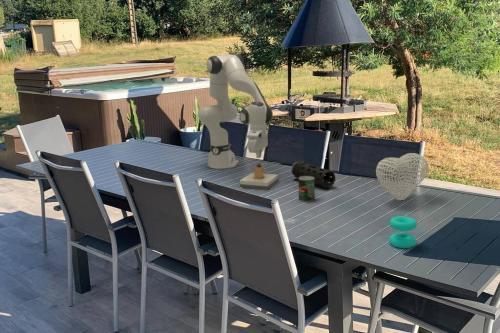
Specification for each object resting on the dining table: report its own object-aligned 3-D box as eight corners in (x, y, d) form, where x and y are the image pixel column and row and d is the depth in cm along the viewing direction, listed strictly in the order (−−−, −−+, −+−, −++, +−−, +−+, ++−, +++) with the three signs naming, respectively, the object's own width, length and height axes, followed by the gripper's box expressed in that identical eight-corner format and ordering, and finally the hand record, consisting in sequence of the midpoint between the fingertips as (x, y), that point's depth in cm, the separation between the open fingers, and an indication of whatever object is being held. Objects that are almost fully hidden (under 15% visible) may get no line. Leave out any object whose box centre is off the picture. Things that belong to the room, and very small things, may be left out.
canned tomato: (317, 198, 260) (317, 176, 258) (310, 202, 254) (310, 180, 251) (302, 196, 264) (302, 175, 262) (295, 200, 258) (295, 178, 255)
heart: (392, 210, 239) (394, 163, 233) (368, 202, 252) (369, 157, 246) (433, 199, 253) (436, 154, 248) (408, 191, 266) (410, 149, 261)
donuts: (418, 216, 201) (416, 225, 192) (417, 240, 203) (415, 250, 194) (391, 214, 204) (388, 222, 195) (390, 238, 207) (387, 247, 198)
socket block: (251, 179, 298) (251, 172, 297) (278, 181, 292) (278, 174, 291) (240, 187, 283) (239, 180, 282) (267, 190, 277) (267, 182, 276)
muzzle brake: (321, 191, 272) (321, 172, 270) (290, 179, 295) (289, 162, 293) (335, 188, 277) (336, 169, 274) (303, 177, 300) (303, 159, 298)
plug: (257, 179, 289) (256, 163, 287) (264, 180, 288) (263, 163, 286) (254, 181, 286) (254, 164, 283) (261, 182, 284) (261, 165, 282)
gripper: (259, 129, 291) (260, 153, 294) (245, 135, 272) (246, 161, 276) (270, 129, 288) (271, 153, 292) (256, 136, 270) (257, 162, 273)
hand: (258, 157), depth 283 cm, fingers closed
